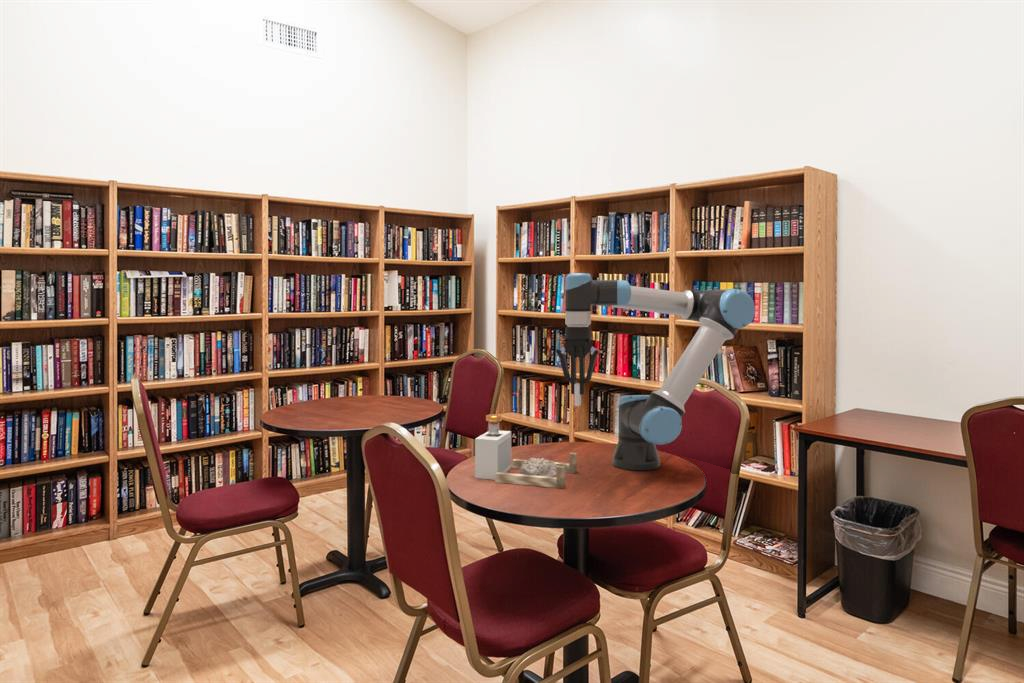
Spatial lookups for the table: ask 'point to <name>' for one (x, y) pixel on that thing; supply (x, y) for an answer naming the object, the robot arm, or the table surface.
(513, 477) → the track
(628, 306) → the robot arm
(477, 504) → the table surface
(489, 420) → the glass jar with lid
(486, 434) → the white button box
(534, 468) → the rock
